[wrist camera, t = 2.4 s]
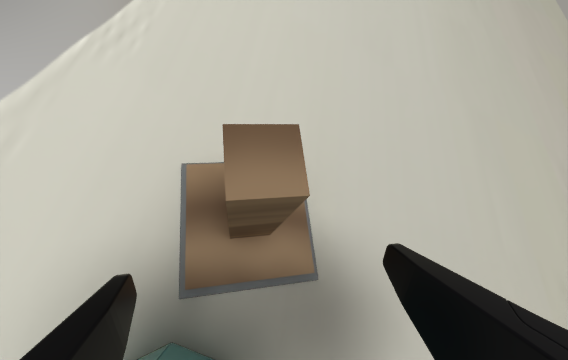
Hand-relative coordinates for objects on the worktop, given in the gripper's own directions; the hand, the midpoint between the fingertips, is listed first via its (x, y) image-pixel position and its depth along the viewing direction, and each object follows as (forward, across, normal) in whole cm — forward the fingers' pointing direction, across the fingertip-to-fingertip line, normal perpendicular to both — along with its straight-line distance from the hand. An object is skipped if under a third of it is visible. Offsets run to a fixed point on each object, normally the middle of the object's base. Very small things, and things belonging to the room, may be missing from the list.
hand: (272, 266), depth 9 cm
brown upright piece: (+11, 0, +5) cm, 12 cm away
